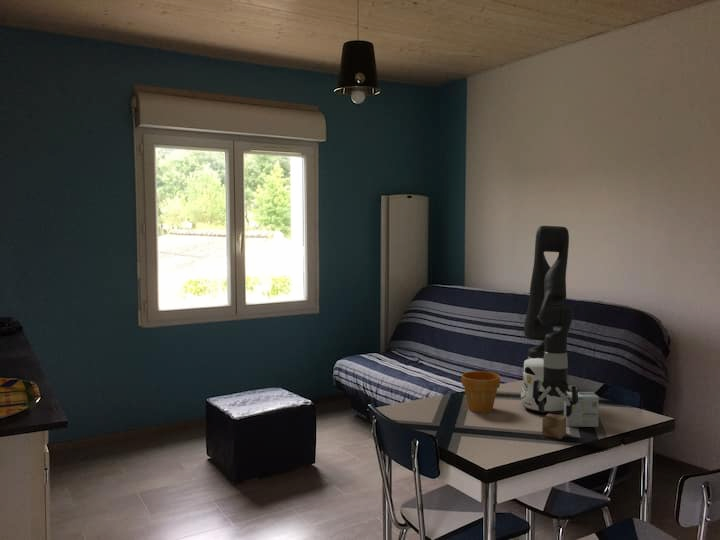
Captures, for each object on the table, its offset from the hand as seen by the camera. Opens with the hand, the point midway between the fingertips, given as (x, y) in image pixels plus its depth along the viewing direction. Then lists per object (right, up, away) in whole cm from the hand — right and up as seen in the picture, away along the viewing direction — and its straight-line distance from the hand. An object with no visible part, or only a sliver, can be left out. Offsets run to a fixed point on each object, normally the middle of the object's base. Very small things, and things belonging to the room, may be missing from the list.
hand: (555, 414), depth 201 cm
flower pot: (-19, -5, +30) cm, 36 cm away
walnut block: (0, -7, +1) cm, 7 cm away
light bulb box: (+12, -6, +11) cm, 18 cm away
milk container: (+5, -5, +29) cm, 30 cm away
